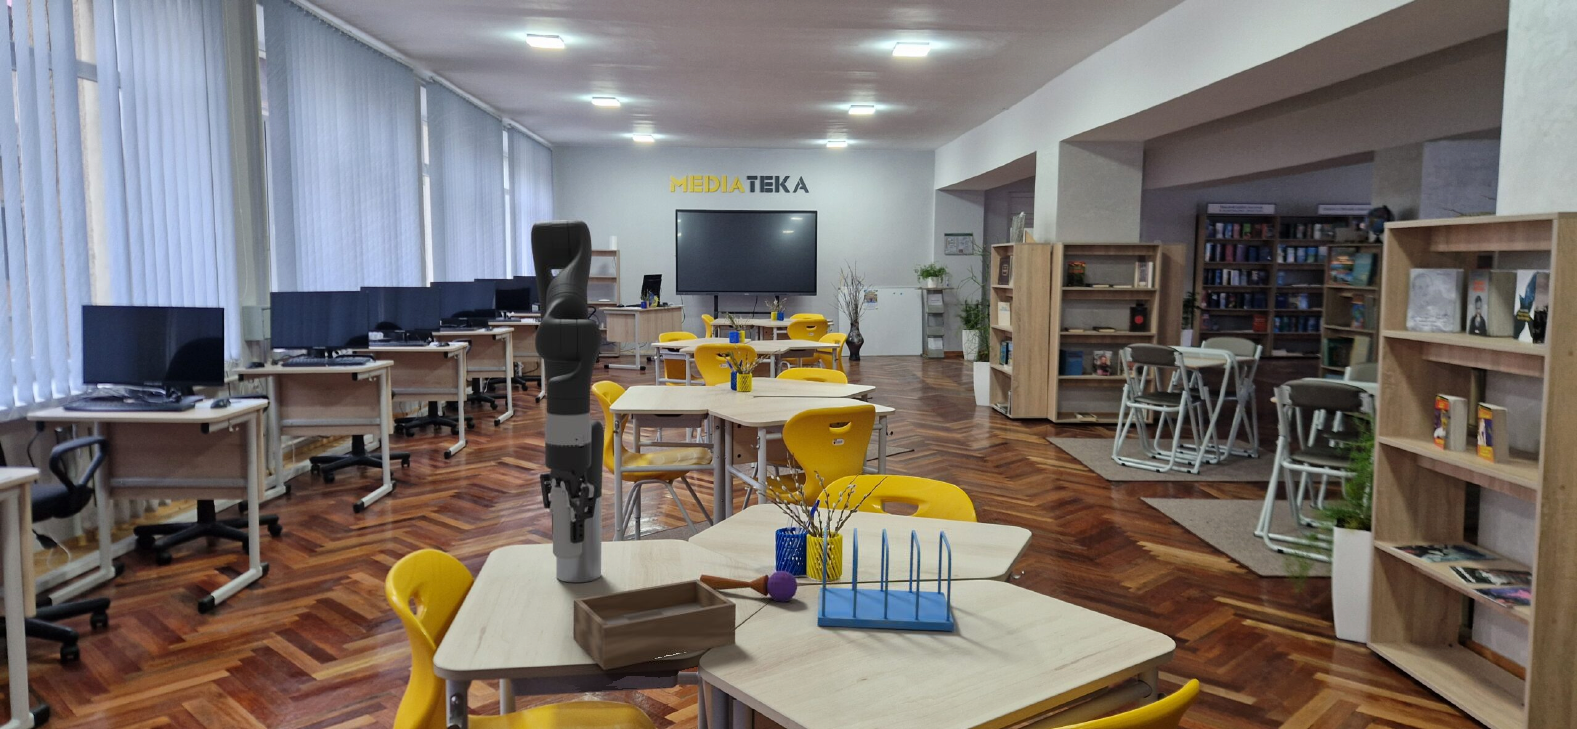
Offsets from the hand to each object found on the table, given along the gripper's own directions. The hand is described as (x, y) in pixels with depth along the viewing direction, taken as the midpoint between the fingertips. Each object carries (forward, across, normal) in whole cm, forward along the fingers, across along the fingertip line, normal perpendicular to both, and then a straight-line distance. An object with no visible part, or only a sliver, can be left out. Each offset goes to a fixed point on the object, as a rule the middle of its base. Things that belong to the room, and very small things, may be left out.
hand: (568, 538), depth 157 cm
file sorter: (+20, +27, +53) cm, 63 cm away
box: (+19, +8, +13) cm, 24 cm away
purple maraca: (+20, +2, +41) cm, 46 cm away
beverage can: (+3, 0, 0) cm, 3 cm away
